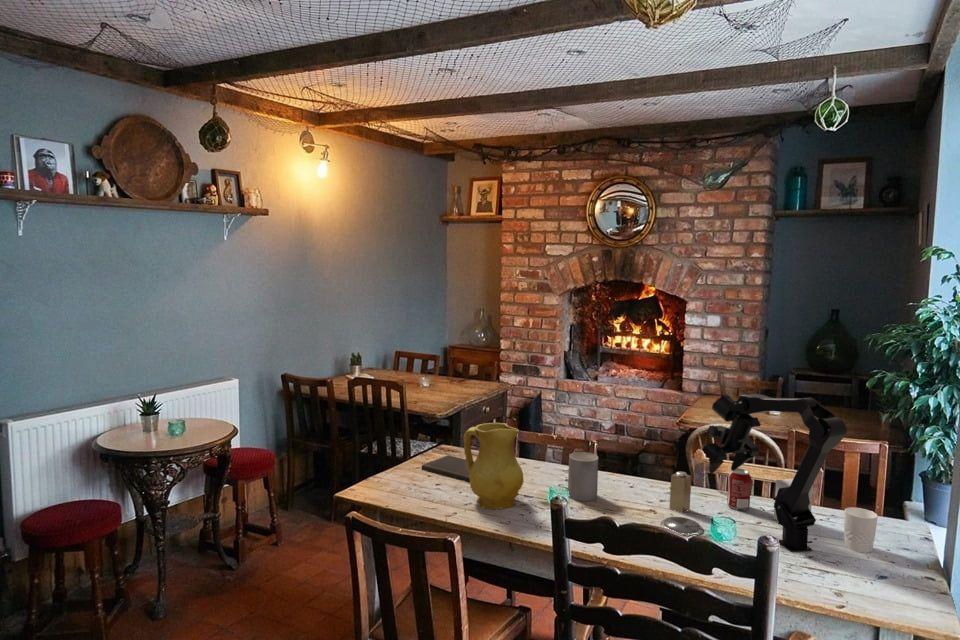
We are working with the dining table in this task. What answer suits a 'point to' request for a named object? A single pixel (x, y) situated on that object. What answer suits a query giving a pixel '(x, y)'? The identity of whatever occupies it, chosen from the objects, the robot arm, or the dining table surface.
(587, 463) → the pillar candle
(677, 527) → the plate
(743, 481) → the soda can
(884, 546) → the dining table surface
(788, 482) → the supplement box
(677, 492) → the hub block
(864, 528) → the white cup
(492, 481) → the pitcher
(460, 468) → the hardcover book
